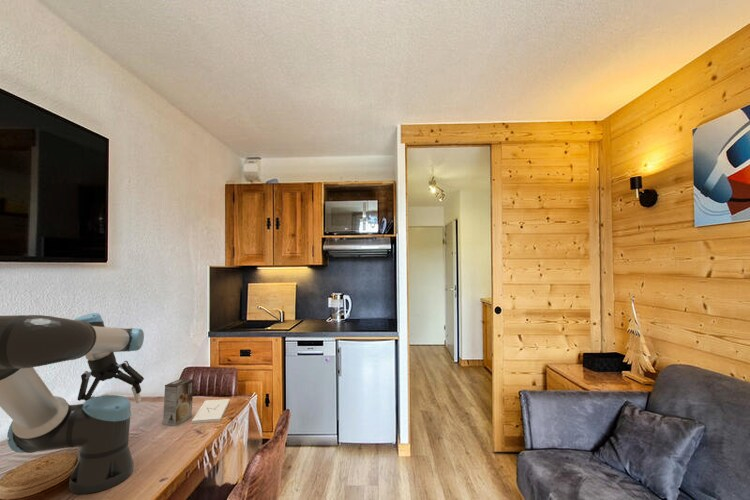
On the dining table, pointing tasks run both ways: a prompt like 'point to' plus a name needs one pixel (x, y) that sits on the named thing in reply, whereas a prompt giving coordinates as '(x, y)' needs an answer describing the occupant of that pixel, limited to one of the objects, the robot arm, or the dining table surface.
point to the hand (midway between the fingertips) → (118, 407)
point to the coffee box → (178, 401)
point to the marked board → (211, 411)
